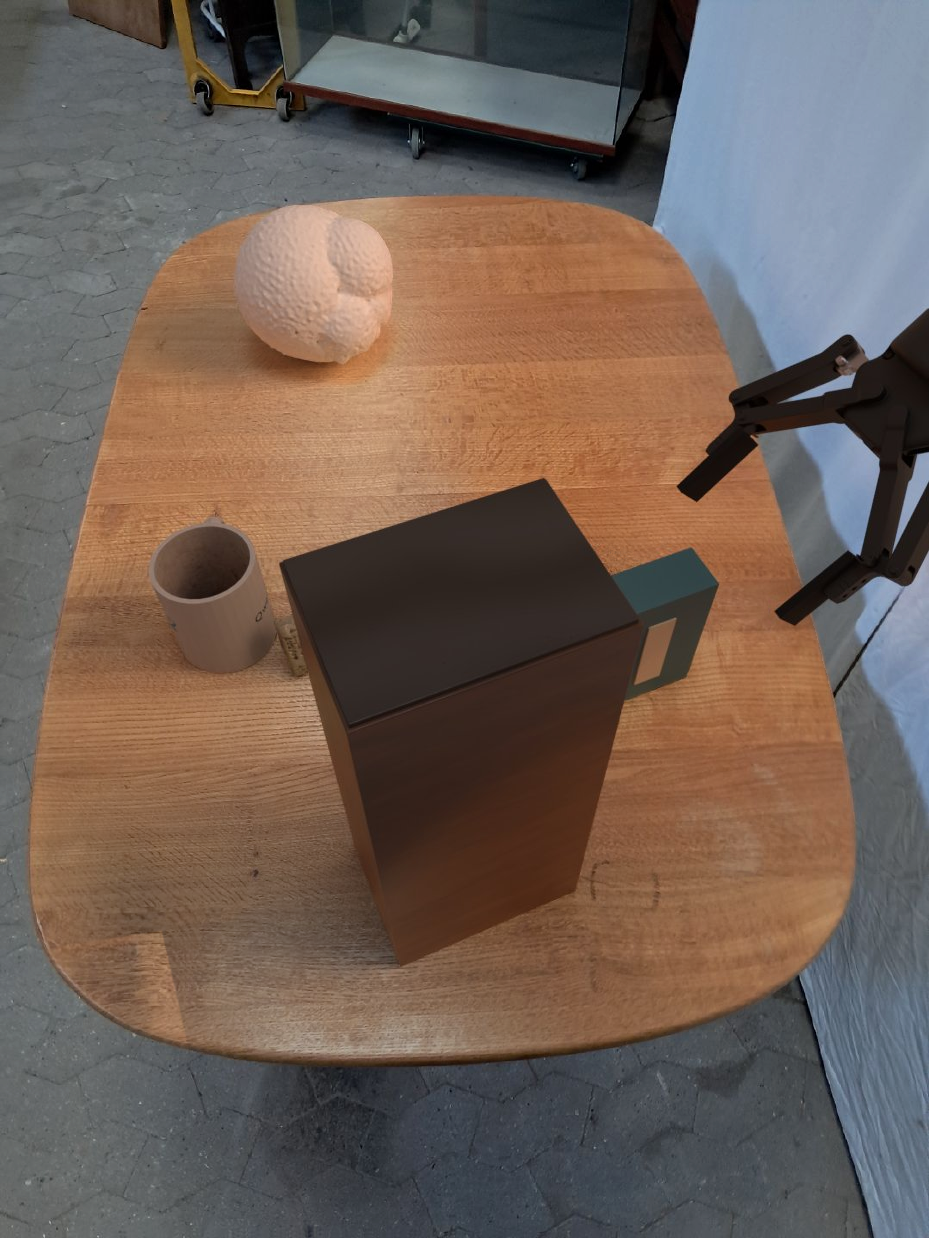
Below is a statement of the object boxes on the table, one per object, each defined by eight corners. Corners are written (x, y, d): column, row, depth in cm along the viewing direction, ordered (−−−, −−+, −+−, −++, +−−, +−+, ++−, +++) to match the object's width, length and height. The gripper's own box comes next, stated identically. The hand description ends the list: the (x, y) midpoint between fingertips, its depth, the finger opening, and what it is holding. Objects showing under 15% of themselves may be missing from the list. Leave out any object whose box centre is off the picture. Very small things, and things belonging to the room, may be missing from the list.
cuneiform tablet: (429, 647, 81) (302, 700, 77) (408, 618, 84) (285, 667, 80) (419, 587, 76) (283, 640, 72) (398, 558, 79) (266, 608, 76)
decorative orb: (247, 300, 112) (218, 172, 99) (390, 286, 113) (380, 158, 100) (250, 407, 100) (218, 277, 87) (410, 389, 101) (401, 259, 89)
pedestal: (575, 890, 67) (645, 620, 40) (399, 967, 64) (345, 730, 37) (518, 778, 73) (546, 473, 46) (353, 843, 70) (277, 558, 42)
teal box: (687, 678, 79) (720, 585, 68) (595, 714, 76) (615, 623, 66) (663, 642, 81) (691, 546, 70) (573, 676, 79) (588, 582, 68)
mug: (265, 676, 79) (241, 607, 71) (169, 669, 79) (134, 600, 71) (293, 568, 86) (274, 494, 78) (204, 562, 87) (177, 488, 79)
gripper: (1128, 479, 57) (850, 686, 66) (875, 269, 71) (673, 464, 79) (1112, 439, 51) (811, 670, 60) (840, 219, 65) (628, 434, 74)
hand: (732, 553), depth 70 cm, fingers open, 13 cm apart
